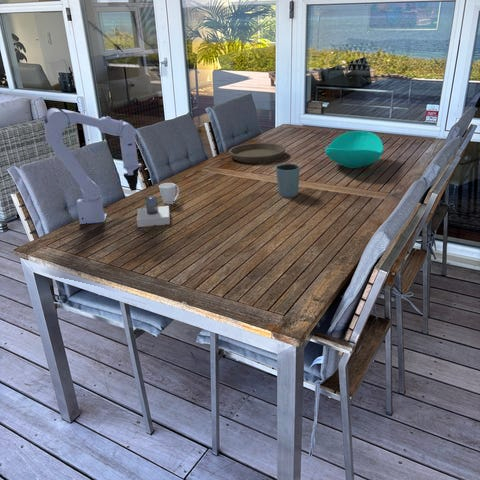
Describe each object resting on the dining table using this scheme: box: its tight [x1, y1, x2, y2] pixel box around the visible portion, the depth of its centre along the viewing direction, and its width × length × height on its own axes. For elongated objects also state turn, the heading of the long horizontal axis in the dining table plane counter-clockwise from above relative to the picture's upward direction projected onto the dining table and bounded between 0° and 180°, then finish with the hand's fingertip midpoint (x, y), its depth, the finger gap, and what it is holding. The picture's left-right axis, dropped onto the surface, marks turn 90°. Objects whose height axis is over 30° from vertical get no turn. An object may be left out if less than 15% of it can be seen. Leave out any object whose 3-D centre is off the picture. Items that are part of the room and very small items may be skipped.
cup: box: [158, 182, 180, 205], centre depth 201 cm, size 7×10×8 cm
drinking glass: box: [275, 163, 301, 198], centre depth 204 cm, size 10×10×12 cm
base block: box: [136, 205, 171, 228], centre depth 185 cm, size 12×12×3 cm
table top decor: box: [324, 130, 384, 169], centre depth 236 cm, size 40×28×13 cm
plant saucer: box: [228, 142, 286, 164], centre depth 262 cm, size 31×31×5 cm
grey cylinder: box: [144, 195, 159, 215], centre depth 183 cm, size 4×4×6 cm
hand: (134, 187), depth 191 cm, fingers open, 7 cm apart
